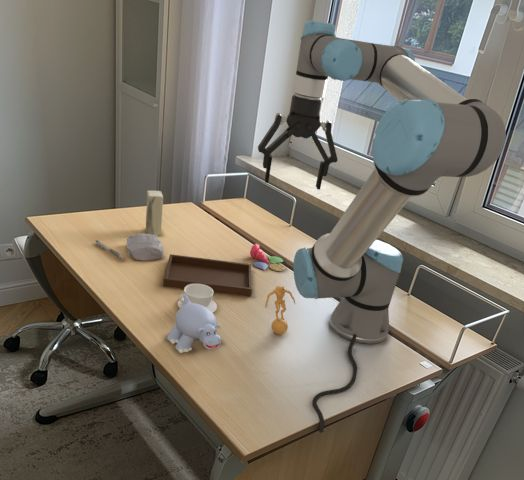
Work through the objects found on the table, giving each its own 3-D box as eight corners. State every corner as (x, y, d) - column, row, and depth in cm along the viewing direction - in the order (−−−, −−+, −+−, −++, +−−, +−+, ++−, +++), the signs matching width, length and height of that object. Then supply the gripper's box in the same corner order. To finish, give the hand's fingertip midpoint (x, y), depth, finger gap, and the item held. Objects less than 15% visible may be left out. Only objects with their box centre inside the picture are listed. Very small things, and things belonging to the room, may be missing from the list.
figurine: (267, 339, 131) (275, 296, 125) (256, 326, 136) (263, 283, 129) (296, 335, 135) (305, 292, 128) (284, 322, 139) (293, 280, 133)
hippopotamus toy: (191, 367, 118) (195, 330, 112) (160, 332, 127) (162, 296, 122) (233, 356, 124) (239, 320, 118) (200, 323, 133) (204, 288, 128)
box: (145, 229, 175) (146, 189, 168) (159, 229, 176) (160, 190, 169) (147, 236, 171) (148, 195, 164) (161, 236, 172) (163, 196, 165)
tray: (250, 296, 148) (251, 289, 147) (162, 286, 146) (163, 278, 144) (250, 271, 161) (251, 264, 160) (169, 261, 158) (170, 254, 157)
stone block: (132, 266, 156) (166, 259, 159) (128, 251, 153) (163, 243, 156) (125, 250, 165) (157, 243, 168) (121, 235, 162) (155, 228, 165)
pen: (97, 243, 161) (97, 238, 161) (125, 261, 154) (125, 256, 154) (94, 243, 161) (93, 239, 160) (122, 262, 154) (122, 257, 153)
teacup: (207, 295, 145) (209, 279, 143) (223, 314, 138) (225, 297, 136) (171, 299, 141) (172, 283, 138) (186, 319, 134) (187, 302, 131)
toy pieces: (243, 265, 164) (245, 251, 161) (252, 251, 173) (254, 238, 170) (281, 274, 162) (284, 261, 160) (289, 260, 171) (291, 247, 169)
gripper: (355, 101, 135) (336, 186, 147) (255, 85, 132) (244, 173, 143) (361, 107, 129) (341, 195, 141) (257, 91, 126) (245, 182, 137)
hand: (292, 184), depth 142 cm, fingers open, 13 cm apart
